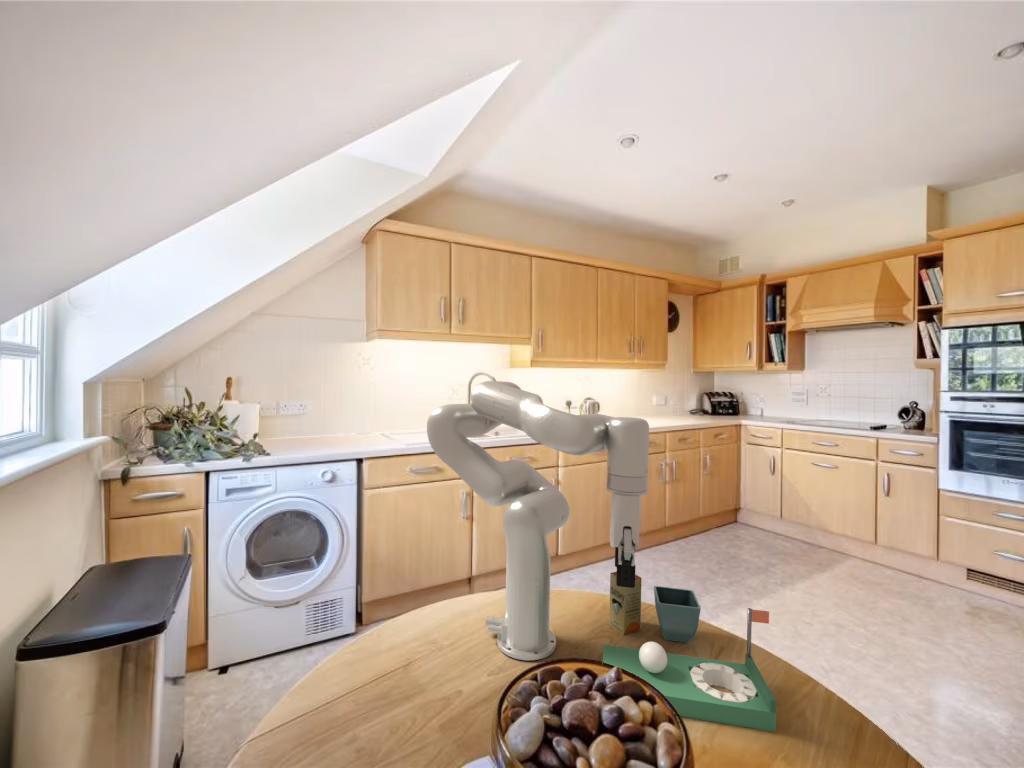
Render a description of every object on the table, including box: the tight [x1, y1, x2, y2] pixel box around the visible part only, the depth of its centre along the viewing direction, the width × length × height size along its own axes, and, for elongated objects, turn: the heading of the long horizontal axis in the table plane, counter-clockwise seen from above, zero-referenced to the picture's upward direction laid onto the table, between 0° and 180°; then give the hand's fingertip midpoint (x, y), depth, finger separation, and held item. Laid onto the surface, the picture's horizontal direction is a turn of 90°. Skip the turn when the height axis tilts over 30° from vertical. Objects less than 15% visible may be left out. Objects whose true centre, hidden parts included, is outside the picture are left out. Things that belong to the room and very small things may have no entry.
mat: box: [602, 643, 777, 733], centre depth 81 cm, size 28×13×5 cm, turn 78°
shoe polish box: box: [608, 571, 642, 636], centre depth 102 cm, size 5×5×12 cm
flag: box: [746, 607, 770, 667], centre depth 83 cm, size 4×1×14 cm, turn 78°
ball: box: [639, 641, 667, 673], centre depth 82 cm, size 5×5×5 cm
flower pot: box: [653, 585, 701, 644], centre depth 99 cm, size 9×9×9 cm
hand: (624, 575), depth 83 cm, fingers open, 7 cm apart
